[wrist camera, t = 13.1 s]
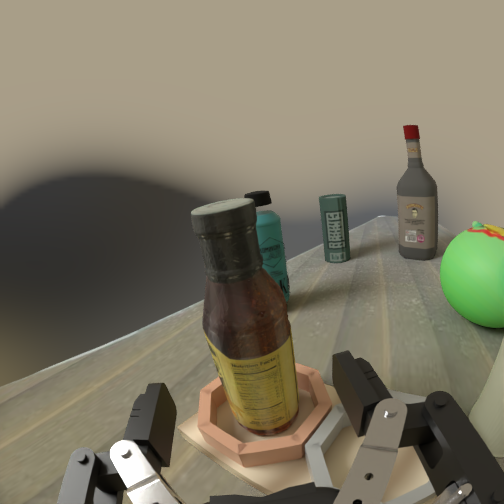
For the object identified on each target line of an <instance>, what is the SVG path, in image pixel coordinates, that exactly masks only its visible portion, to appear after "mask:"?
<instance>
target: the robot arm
mask: <svg viewBox="0 0 504 504" xmlns="http://www.w3.org/2000/svg"><path fill="white" fill-rule="evenodd" d="M332 378H333V384H334V387H335V390H336V392H337V394H338V396H339V398H340V400H341V403H342V405H343V407H344V409H345V411H346V413H347V415H348V417H349V420H350V422H351V424H352V426H353V428H354V430H355V432H356V435H357V437H358V438H359V437H362V436H364V435H365V438H364V441H363V443H362V445H361V446H360V448H359V450H358V453H357V455H356V457H355V460H354V462H353V464H352V466H351V469H350V471H349V473H348V475H347V477H346V479H345V481H344V483H343V485H342V487H341V489H340V490H339V489H336V488H331V487H316V486H315V482H310V483H306V484H302V485H297V486H292V487H288V488H285V489H283V490H280V491H278V492H275V493H273V494H270V495H267V496H264V497H253V496H243V495H222V496H210V502H207V503H204V504H380V503H381V500H382V498H383V495H384V493H385V490H386V487H387V485H388V482H389V479H390V476H391V473H392V470H393V467H394V464H395V461H396V457H397V454H398V448H403V447H409V446H413V447H414V449H415V451H416V453H417V455H418V457H419V459H420V461H421V463H422V465H423V467H424V470H425V472H426V474H427V476H428V478H429V480H430V482H431V484H432V486H433V488H434V491H435V493H436V495H437V498H436V499H435V500H434V502H433V503H432V504H504V472H503V470H502V469H501V467H500V466H499V464H498V462H497V461H496V459H495V458H494V456H493V455H492V453H491V451H490V450H489V448H488V447H487V445H486V444H485V442H484V441H483V439H482V438H481V436H480V435H479V433H478V432H477V431H476V429H475V428H474V426H473V425H472V423H471V422H470V420H469V419H468V418H467V416H466V415H465V413H464V412H463V411H462V409H461V408H460V407H459V405H458V404H457V403H456V401H455V400H454V398H453V397H452V396H451V395H450V394H449V393H447V392H443V391H436V392H433V393H431V394H430V395H428V396H427V398H426V400H425V402H419V403H412V404H405V403H404V402H403V401H401V400H399V399H395V398H393V397H392V396H391V394H390V393H389V391H388V390H387V388H386V387H385V385H384V384H383V382H382V381H381V379H380V378H379V377H378V375H377V373H376V372H375V371H374V369H373V368H372V366H371V365H370V363H369V362H367V361H366V360H364V359H362V358H357V359H354V358H353V356H352V355H351V353H350V352H349V351H344V352H341V353H337V354H334V355H333V366H332ZM176 415H177V411H176V406H175V403H174V401H173V399H172V397H171V395H170V393H169V391H168V389H167V387H166V385H165V383H152V384H148V386H147V389H146V393H145V394H140V396H139V397H138V398H137V399H136V400H135V402H134V405H133V408H132V411H131V414H130V418H129V421H128V424H127V427H126V431H125V434H124V438H123V440H122V441H120V442H117V443H116V444H115V445H114V446H113V447H112V448H111V451H108V452H102V453H96V454H95V453H94V452H93V451H92V450H91V449H89V448H86V447H82V448H79V449H77V450H75V451H74V452H73V453H72V455H71V457H70V460H69V463H68V466H67V469H66V473H65V476H64V479H63V483H62V486H61V490H60V494H59V498H58V501H57V504H122V500H123V492H124V490H126V491H127V494H128V495H129V497H130V499H131V500H132V502H133V504H186V503H185V502H184V501H183V500H182V499H181V498H180V497H179V495H178V494H177V493H176V492H175V491H174V489H173V488H172V487H171V486H170V484H169V483H168V482H167V481H166V479H165V478H164V477H163V475H162V474H161V473H160V472H161V467H169V466H170V458H171V450H172V443H173V436H174V429H175V422H176Z"/></svg>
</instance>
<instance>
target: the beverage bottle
mask: <svg viewBox="0 0 504 504" xmlns="http://www.w3.org/2000/svg"><path fill="white" fill-rule="evenodd" d="M245 198H250V199H253V200H254V202H255V207H258V206H263V205H268V204H271V198H270V194H269V191H255V192H251V193H248V194H245ZM256 214H257V223H256V230H257V235H258V242H259V248H260V253H261V255H262V257H263V265H262V267H263V268H264V269H265V270H266V271H267V272H268V274H269V275H270V276H271V277H272V278H273V279H274V280H275V282H276V283H278V285H279V286H280V288H281V289H282V292H283V294H284V297H285V299H286V302H287V301H288V299H289V296H290V295H289V290H290V288H289V285H288V284H289V281H288V280H289V278H288V275H287V269H286V262H287V261H286V260H285V252H284V245H283V244H284V243H283V238H282V231H281V224H280V217H279V216H278V215H277V214H276V213H275V212H273V211H259V212H256Z"/></svg>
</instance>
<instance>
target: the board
mask: <svg viewBox="0 0 504 504" xmlns="http://www.w3.org/2000/svg"><path fill="white" fill-rule="evenodd" d="M324 385H325V388H326V390H327V392H328V395H329V397H330V399H331V402H332V409H333V408H334V406H335V405H337V404H340V403H341V400H340V398H339V396H338V394H337V392H336V390H335V387H333V386H330V385H326V384H324ZM298 392H299V403H298V406H299V413H298V415H297V417H296V419H295V421H294V422H293V423H292V425H291V426H290V427H289V428H288V429H287V430H285V431H283V432H280V433H278V434H273V435H256V434H253V433H251V432H249V431H247V430H245V429H244V428H243V427H242V426H241V425H239V423H238V421H237V420H236V418H235V417H234V415H233V412H232V410H231V407H230V405H229V402H228V400H226V401H225V402H224V403H223V404H222V405H220V406H219V407H218V408H217V427H218V428H220V429H221V430H223V431H224V432H226V433H227V434H229V435H231V436H232V437H234V438H236V439H237V440H239V441H241V442H242V443H249V442H256V441H262V440H269V439H274V438H280V437H285V436H290V435H293V434H294V433H295V432H296V431H297V430H298V428H299V427H300V426H301V425H302V424H303V422H304V421H305V420H306V419H307V418H308V416H309V415H310V414H311V413H312V411H313V410H314V409H315V407H314V404H313V401H312V399H311V396H310V393H309V392H307V391H304V390H302V389H299V388H298ZM198 413H199V411H198V412H197V413H196V414H194V415H193V416H192V417H190V418H189V419H188V420H186V421H185V422H183V423H182V424H181V425H179V426H178V427H177V428H178V430H179V431H180V433H181V435H182V436H183V438H184V439H186V440H187V441H188V442H189V443H191V444H192V445H193V446H194V447H196V448H197V449H198V450H199V451H201V452H202V453H203V454H205V455H206V456H207V457H209V458H210V459H212V460H213V461H214V462H216V463H217V464H219V465H220V466H221V467H223V468H224V469H226V470H227V471H229V472H230V473H232V474H233V475H235V476H236V477H238V478H239V479H241V480H243V481H244V482H246V483H247V484H249V485H251V486H252V487H254V488H256V489H258V490H259V491H261V492H263V493H264V494H266V495H270V494H273V493H275V492H278V491H280V490H283V489H285V488H288V487H292V486H297V485H302V484H306V483H310V482H311V478H310V474H309V471H308V467H307V463H306V459H305V455H304V457H303V458H300V459H295V460H290V461H285V462H280V463H274V464H268V465H261V466H253V467H245V468H244V467H242V466H241V465H239V464H238V463H236V462H235V461H233V460H231V459H230V458H228V457H227V456H225V455H224V454H222V453H221V452H219V451H218V450H216V449H215V448H214V447H212V446H211V445H209V444H208V443H207V442H205V440H204V438H203V436H202V434H201V433H200V431H199V429H198V427H197V425H198ZM364 438H365V435H364V436H362V437H359V438H358V437H357V435H356V432H355V430H354V428H353V426H352V425H351V426H348V427H344V428H342V430H341V431H340V433H339V434H338V436H337V437H336V439H335V440H334V441H333V443H332V444H331V446H330V447H329V448H328V450H327V451H326V452H325V454H324V455H323V457H324V460H325V463H326V466H327V469H328V472H329V475H330V478H331V482H332V485H333V487H336V488H338V489H341V487H342V485H343V483H344V481H345V479H346V477H347V475H348V473H349V471H350V469H351V466H352V464H353V462H354V460H355V457H356V455H357V453H358V450H359V448H360V446H361V445H362V443H363V441H364ZM428 480H429V478H428V476H427V474H426V472H425V470H424V467H423V465H422V463H421V461H420V459H419V457H418V455H417V453H416V451H415V449H414V447H413V446H409V447H403V448H398V454H397V457H396V461H395V464H394V467H393V470H392V473H391V476H390V479H389V482H388V485H387V487H386V490H385V493H384V495H383V498H382V500H381V502H382V503H385V502H388V501H390V500H392V499H395V498H397V497H399V496H401V495H404V494H406V493H408V492H410V491H412V490H414V489H416V488H418V487H420V486H422V485H424V484H426V483H427V482H428ZM435 498H436V496H435V497H434V498H432V499H430V500H429V501H427V502H425V503H423V504H432V503H433V502H434V500H435Z"/></svg>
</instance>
